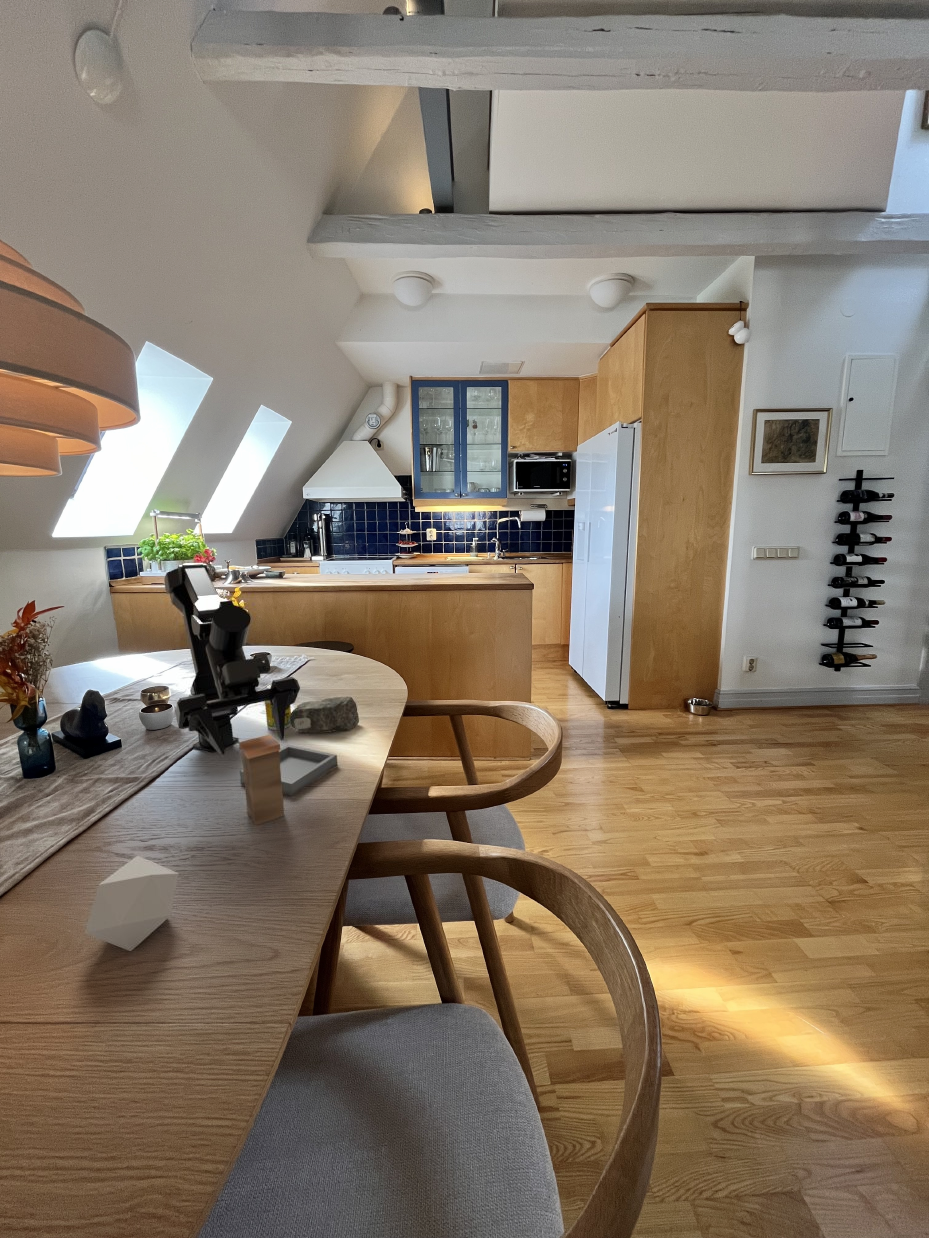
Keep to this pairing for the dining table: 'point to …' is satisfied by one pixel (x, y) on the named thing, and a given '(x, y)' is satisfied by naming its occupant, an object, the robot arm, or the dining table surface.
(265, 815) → the brown block
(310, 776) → the tray
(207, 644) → the robot arm
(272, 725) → the supplement bottle
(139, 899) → the die
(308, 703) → the stone
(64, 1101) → the dining table surface
